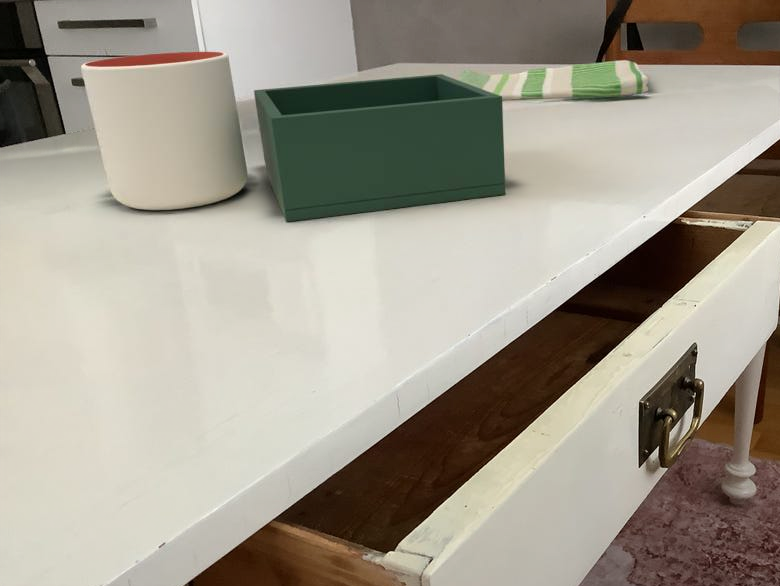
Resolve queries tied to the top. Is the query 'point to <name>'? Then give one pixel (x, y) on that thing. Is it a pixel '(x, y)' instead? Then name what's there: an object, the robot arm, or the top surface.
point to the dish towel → (564, 81)
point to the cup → (167, 128)
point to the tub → (380, 144)
